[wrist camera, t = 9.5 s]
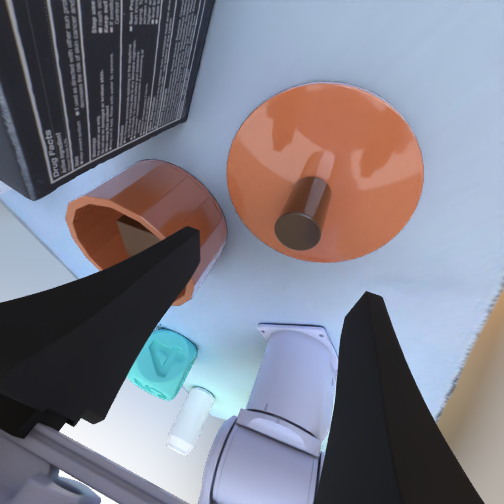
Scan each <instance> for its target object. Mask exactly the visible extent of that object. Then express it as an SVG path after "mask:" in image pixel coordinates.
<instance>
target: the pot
mask: <svg viewBox="0 0 504 504" xmlns="http://www.w3.org/2000/svg"><path fill="white" fill-rule="evenodd" d="M124 214H125V215H127V216H128V217H130V218H132V219H134V220H136V221H138V222H140V223H141V224H142V225H143V226H145V227H146V228H147V229H148V230H149V231H151V232H152V233H153V234H154V235H155V236H157V237H158V238H159V239H160V240H163V239H165V238H167V237H168V236H170V235H172V234H174V233H175V232H177V231H179V230H181V229H182V228H184V227H186V226H189V227H192V228H195V229H198V230H200V257H201V262H200V263H199V265H198V267H197V269H196V271H195V273H194V274H193V276H192V278H191V279H190V281H189V282H188V284H187V285H186V286H185V288H184V289H183V290H182V292H181V293H180V294H179V296H178V297H177V298H176V300H175V301H174V302H173V304H172V305H171V306H180V305H182V304H184V303H185V302H187V301H189V300H190V299H192V297H193V296H194V294H195V293H196V291H197V290H198V288H199V287H200V285H201V284H202V282H203V281H204V279H205V277H206V276H207V274H208V273H209V271H210V270H211V268H212V267H213V265H214V264H215V262H216V261H217V259H218V258H219V256H220V255H221V253H222V250H223V248H224V246H225V244H226V240H227V226H226V222H225V218H224V215H223V213H222V211H221V209H220V207H219V205H218V203H217V202H216V200H215V198H214V197H213V196H212V194H211V193H210V192H209V191H208V190H207V189H206V187H205V186H204V185H203V184H202V183H201V182H199V181H198V180H197V179H196V178H195V177H193V176H192V175H191V174H189V173H188V172H186V171H185V170H183V169H181V168H179V167H177V166H175V165H173V164H171V163H167V162H164V161H159V160H142V161H139V162H136V163H134V164H133V165H131V166H129V167H127V168H125V169H123V170H122V171H120V172H118V173H117V174H115V175H114V176H112V177H110V178H109V179H107V180H105V181H104V182H102V183H100V184H99V185H97V186H95V187H94V188H92V189H90V190H89V191H87V192H85V193H84V194H82V195H80V196H79V197H77V198H76V199H74V200H72V201H71V202H69V203H68V208H67V212H66V217H65V218H66V222H67V225H68V228H69V230H70V233H71V236H72V238H73V239H74V241H75V242H76V244H77V245H78V247H79V248H80V249H81V251H82V252H83V254H84V255H85V256H86V258H87V259H88V260H89V261H90V262H91V263H92V264H93V265H94V266H95V267H96V268H97V269H98V270H99V271H102V270H104V269H106V268H109V267H111V266H113V265H115V264H117V263H120V262H122V261H124V260H126V259H128V258H130V257H129V256H128V255H127V252H126V249H125V246H124V243H123V240H122V237H121V233H120V230H119V227H118V224H117V221H116V220H117V219H119V218H120V217H121V216H123V215H124Z"/></svg>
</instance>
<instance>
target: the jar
mask: <svg viewBox="0 0 504 504" xmlns="http://www.w3.org/2000/svg"><path fill="white" fill-rule="evenodd" d="M11 189H12V188H11V187H9V186H8V185H6V184H5V183H3V182H2V181H0V194H2V193H4V192H7V191H9V190H11Z"/></svg>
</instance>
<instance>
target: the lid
mask: <svg viewBox="0 0 504 504" xmlns="http://www.w3.org/2000/svg"><path fill="white" fill-rule="evenodd" d="M423 181H424V166H423V160H422V154H421V150H420V147H419V144H418V141H417V139H416V136H415V134H414V132H413V130H412V129H411V127H410V125H409V123H408V122H407V121H406V120H405V118H404V117H403V116H402V115H401V114H400V112H399V111H398V110H397V109H396V108H394V107H393V106H392V105H391V104H390V103H389V102H387V101H386V100H385V99H383V98H381V97H380V96H378V95H376V94H375V93H373V92H371V91H368V90H366V89H363V88H361V87H358V86H355V85H350V84H346V83H341V82H325V81H324V82H314V83H306V84H302V85H298V86H294V87H291V88H289V89H287V90H284V91H282V92H279V93H278V94H276V95H274V96H273V97H271V98H269V99H268V100H266V101H265V102H264V103H262V104H261V105H260V106H259V107H258V108H256V109H255V110H254V111H253V112H252V113H251V114H250V115H249V116H248V118H247V119H246V120H245V121H244V123H243V124H242V125H241V127H240V128H239V130H238V132H237V134H236V136H235V138H234V140H233V142H232V145H231V148H230V151H229V156H228V162H227V184H228V189H229V194H230V197H231V200H232V203H233V205H234V207H235V210H236V212H237V213H238V215H239V217H240V218H241V220H242V221H243V223H244V224H245V225H246V227H247V228H248V229H249V230H250V231H251V232H252V233H253V234H254V235H255V236H256V237H257V238H258V239H260V240H261V241H262V242H263V243H265V244H266V245H268V246H269V247H271V248H273V249H274V250H276V251H278V252H280V253H282V254H285V255H287V256H290V257H293V258H296V259H300V260H304V261H310V262H322V263H329V262H341V261H347V260H351V259H355V258H358V257H361V256H364V255H367V254H369V253H371V252H373V251H375V250H377V249H378V248H380V247H382V246H383V245H385V244H386V243H388V242H389V241H390V240H391V239H393V238H394V237H395V236H396V235H397V234H398V233H399V232H400V231H401V230H402V229H403V228H404V226H405V225H406V224H407V222H408V221H409V219H410V218H411V216H412V215H413V213H414V211H415V209H416V207H417V205H418V202H419V199H420V196H421V192H422V187H423Z"/></svg>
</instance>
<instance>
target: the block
mask: <svg viewBox="0 0 504 504" xmlns="http://www.w3.org/2000/svg"><path fill="white" fill-rule="evenodd" d="M116 221H117V224H118V227H119V230H120V233H121V237H122V240H123V243H124V246H125V249H126V252H127V255H128V256H129V257H132V256H134V255H136V254H138V253H140V252H141V251H143V250H145V249H147V248H149V247H151V246H152V245H154V244H156V243H158V242H160V241H161V240H160V239H159V238H158V237H157V236H155V235H154V234H153V233H152V232H151V231H149V230H148V229H147V228H146V227H145V226H143V225H142V224H141V223H140V222H138V221H136V220H134V219H132V218H130V217H128V216H127V215H125V214H124V215H123V216H121V217H120V218H119V219H117V220H116Z"/></svg>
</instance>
